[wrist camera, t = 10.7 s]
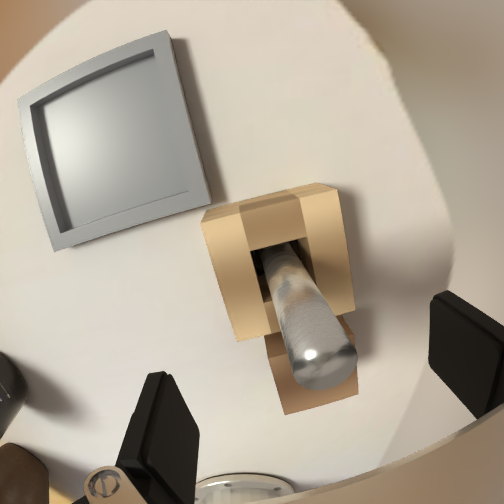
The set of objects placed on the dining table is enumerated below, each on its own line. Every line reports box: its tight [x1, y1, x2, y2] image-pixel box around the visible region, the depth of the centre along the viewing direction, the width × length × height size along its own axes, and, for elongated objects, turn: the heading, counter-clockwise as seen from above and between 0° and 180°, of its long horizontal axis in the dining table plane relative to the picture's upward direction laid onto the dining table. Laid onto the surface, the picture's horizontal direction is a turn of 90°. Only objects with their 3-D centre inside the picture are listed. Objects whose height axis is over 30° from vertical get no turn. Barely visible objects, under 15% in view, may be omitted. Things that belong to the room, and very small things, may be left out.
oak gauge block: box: [200, 183, 355, 342], centre depth 18 cm, size 7×7×4 cm
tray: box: [17, 30, 212, 252], centre depth 17 cm, size 11×11×2 cm
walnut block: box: [264, 315, 358, 415], centre depth 20 cm, size 5×5×5 cm
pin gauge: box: [259, 241, 357, 390], centre depth 14 cm, size 2×2×12 cm
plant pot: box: [0, 443, 49, 504], centre depth 19 cm, size 15×15×16 cm
